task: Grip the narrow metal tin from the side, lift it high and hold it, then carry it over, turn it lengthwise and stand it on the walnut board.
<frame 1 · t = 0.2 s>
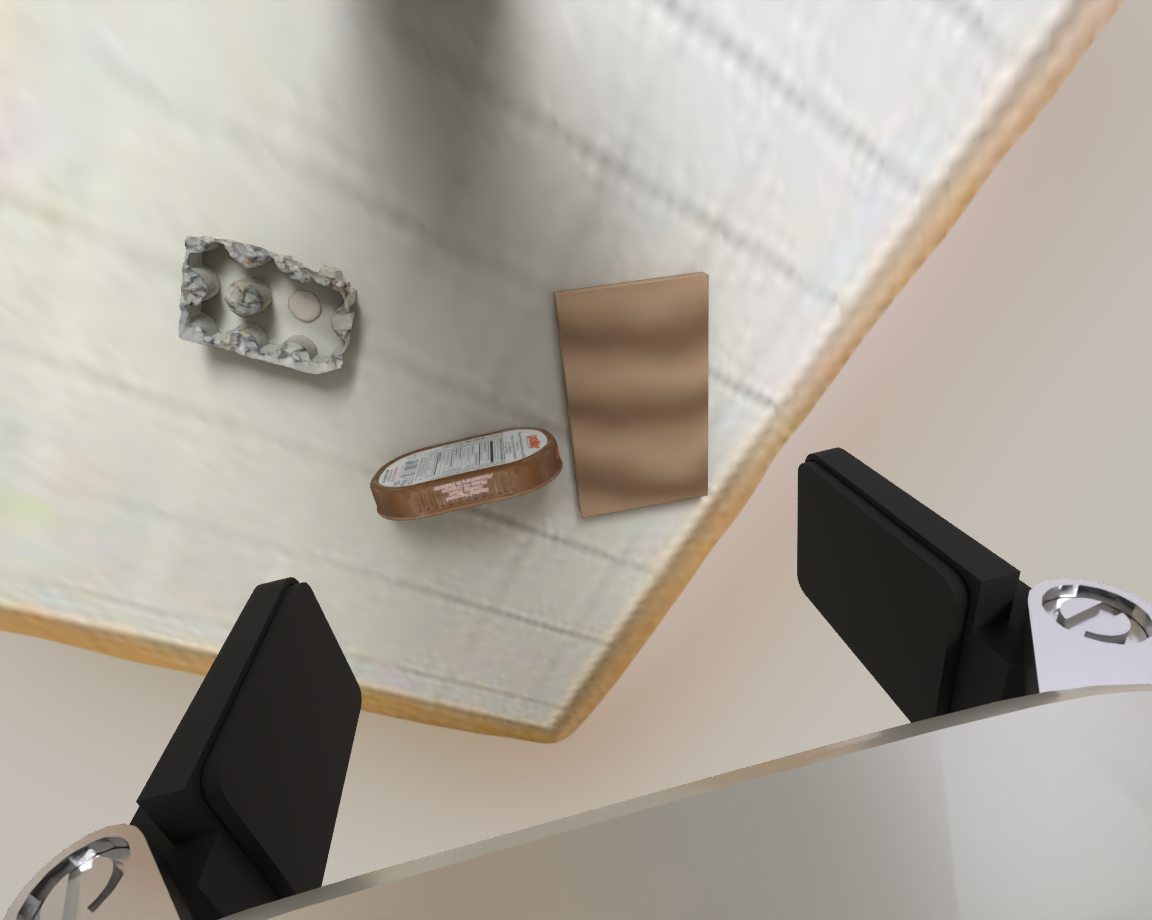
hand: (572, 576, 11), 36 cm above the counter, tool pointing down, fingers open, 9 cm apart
egg carton: (281, 301, 41), on the counter
walnut board: (635, 400, 49), on the counter
tin: (467, 447, 48), on the counter
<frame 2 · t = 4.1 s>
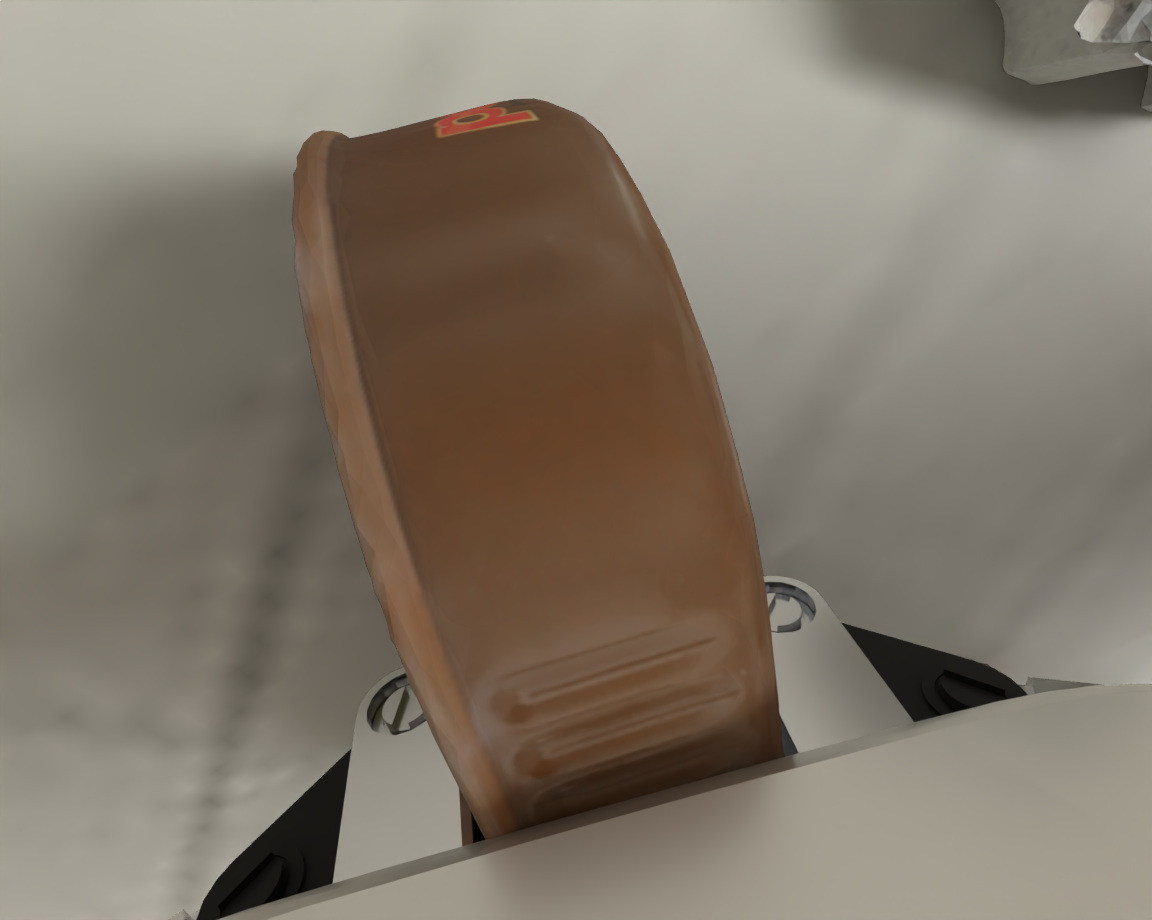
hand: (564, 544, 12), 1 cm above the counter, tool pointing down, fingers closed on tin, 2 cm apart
tin: (566, 506, 13), on the counter, touching gripper
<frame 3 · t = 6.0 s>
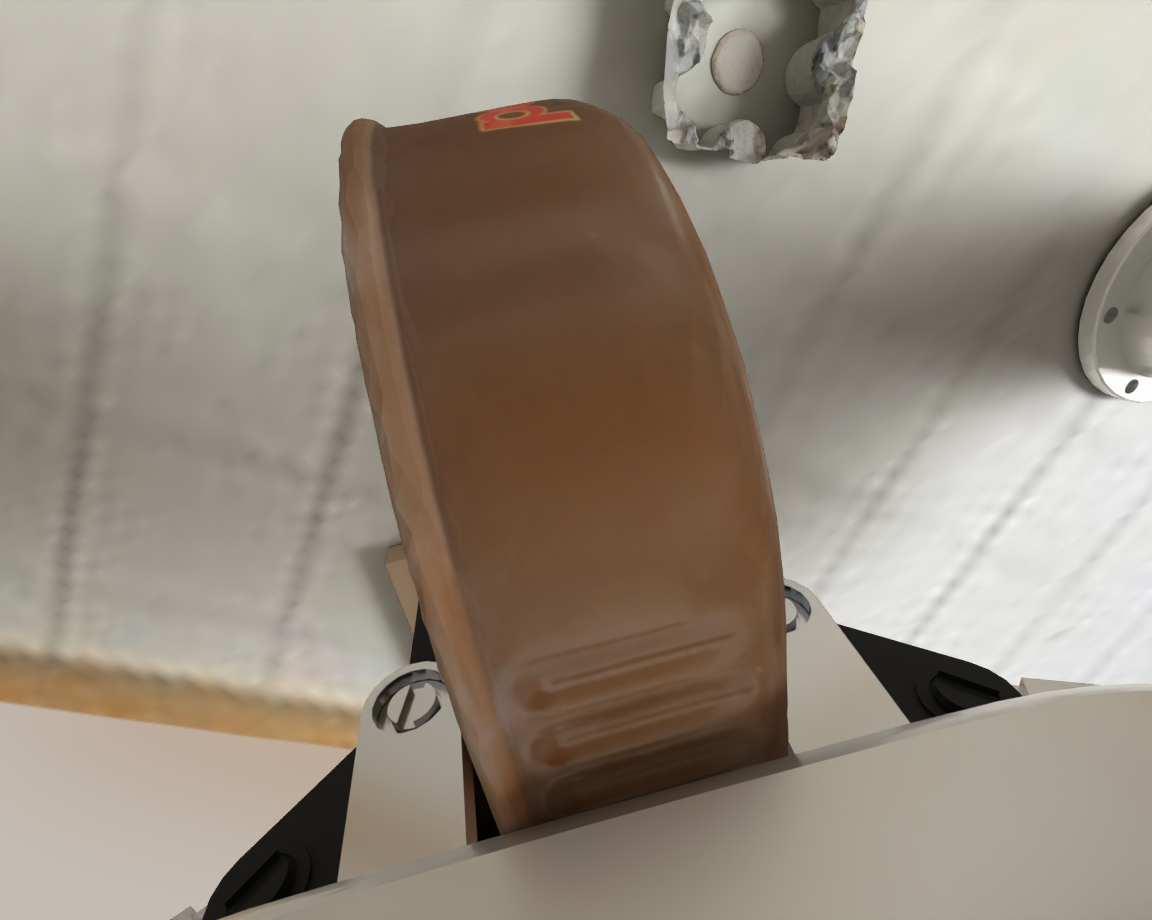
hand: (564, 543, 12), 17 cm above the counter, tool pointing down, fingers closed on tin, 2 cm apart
egg carton: (737, 14, 23), on the counter
walnut board: (589, 587, 33), on the counter
tin: (566, 505, 13), point 15 cm above the counter, touching gripper
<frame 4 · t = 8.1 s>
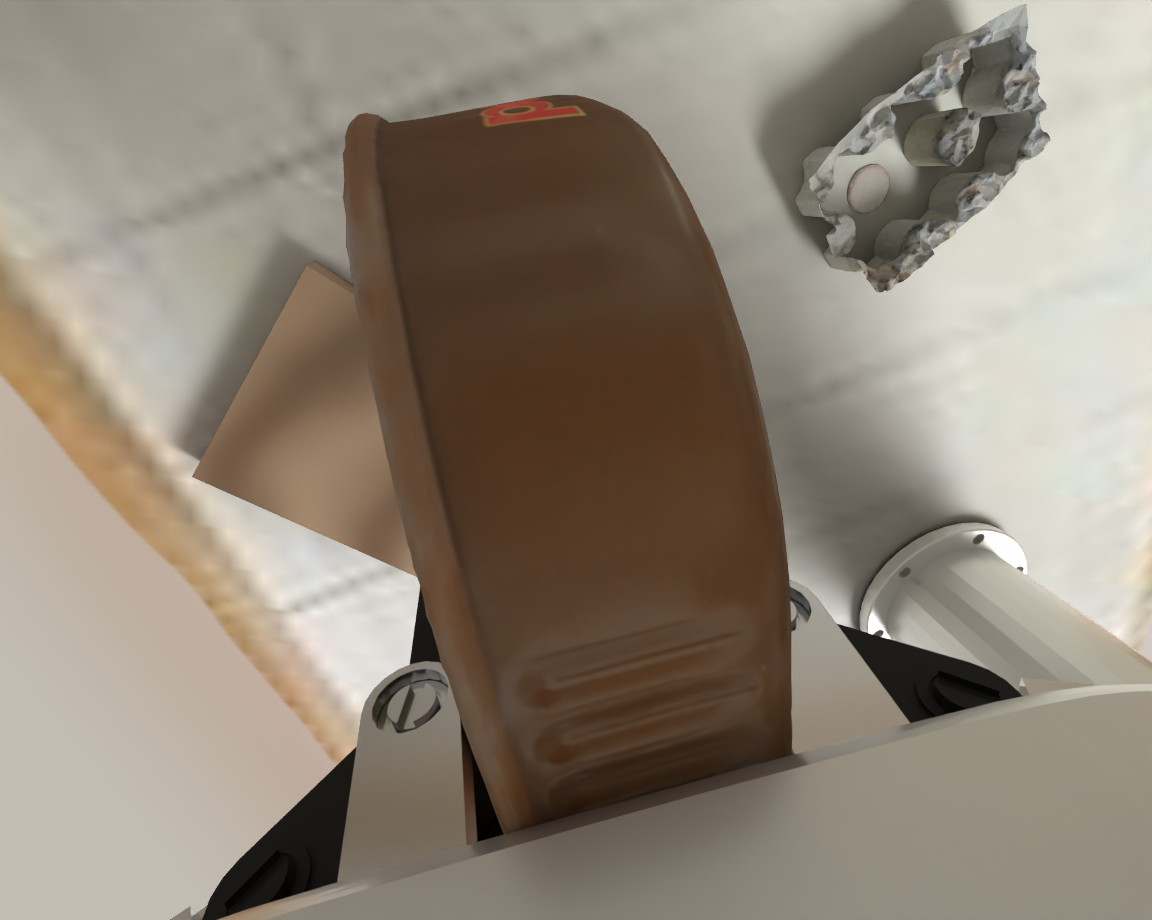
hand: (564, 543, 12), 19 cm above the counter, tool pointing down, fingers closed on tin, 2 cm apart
egg carton: (888, 162, 28), on the counter
walnut board: (440, 466, 31), on the counter
tin: (567, 505, 13), point 17 cm above the counter, touching gripper
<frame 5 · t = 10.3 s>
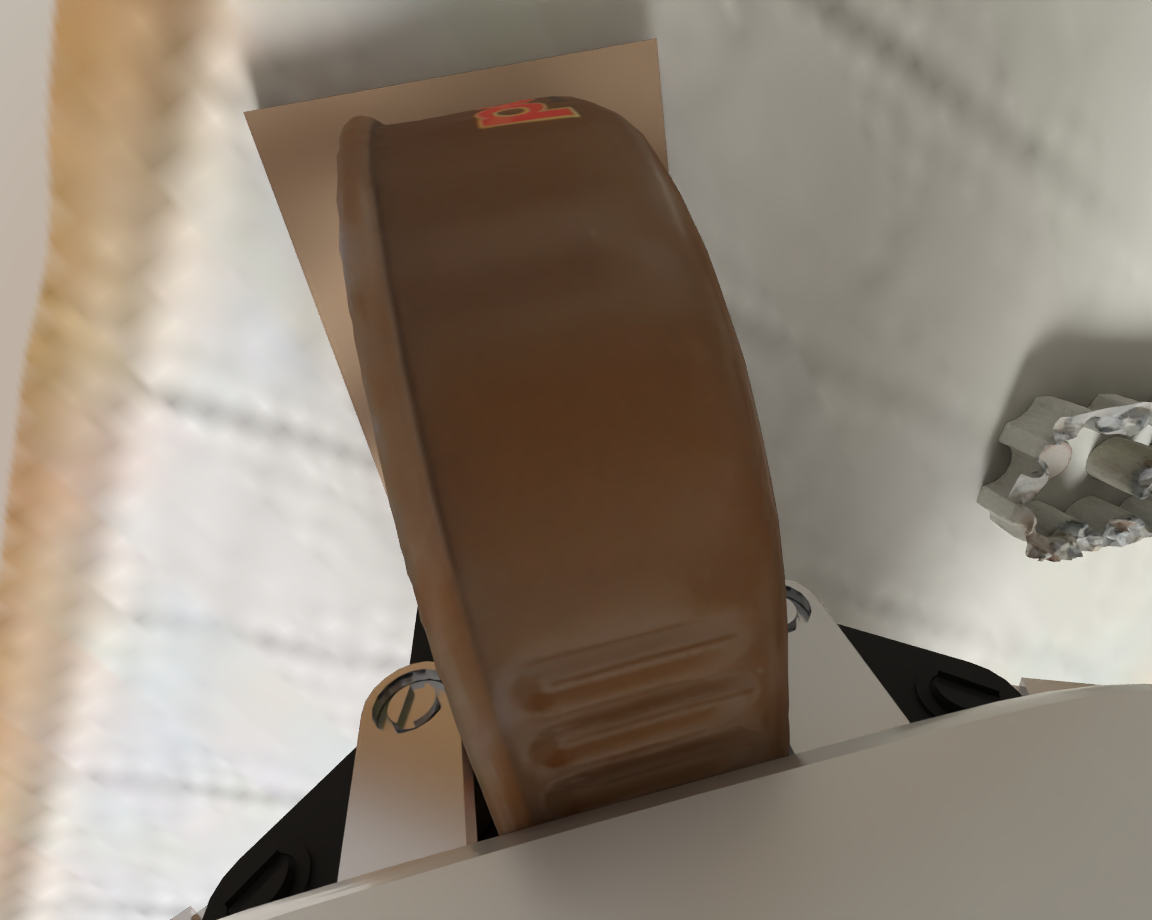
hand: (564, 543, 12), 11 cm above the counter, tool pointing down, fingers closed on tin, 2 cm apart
egg carton: (1071, 452, 28), on the counter
walnut board: (524, 386, 22), on the counter
tin: (566, 505, 13), point 10 cm above the counter, touching gripper
when the fingers open (4 cm above the counter, at t = 12.2 s): tin drops 1 cm, resting on walnut board.
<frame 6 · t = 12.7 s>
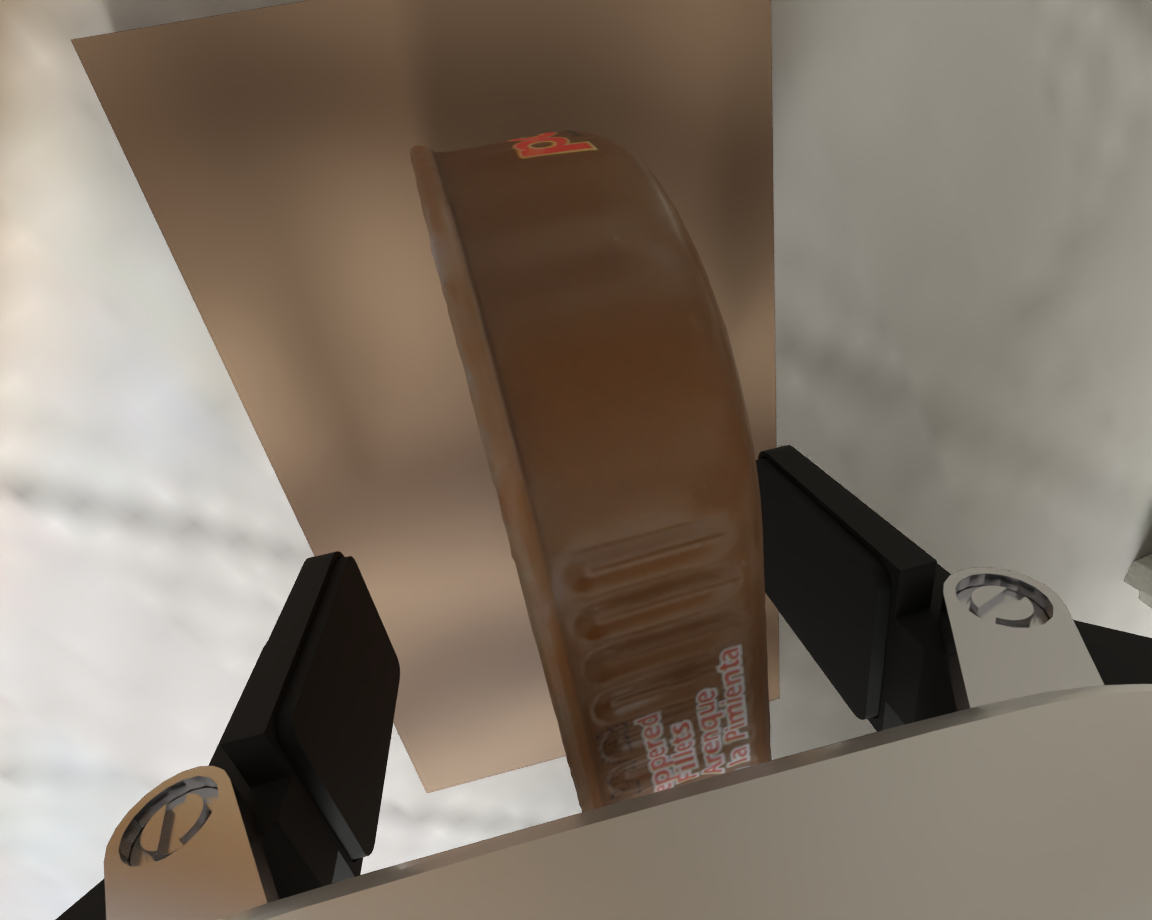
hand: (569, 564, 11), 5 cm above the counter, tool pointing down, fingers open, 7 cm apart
walnut board: (542, 458, 15), on the counter
tin: (564, 484, 14), point 1 cm above the counter, touching walnut board
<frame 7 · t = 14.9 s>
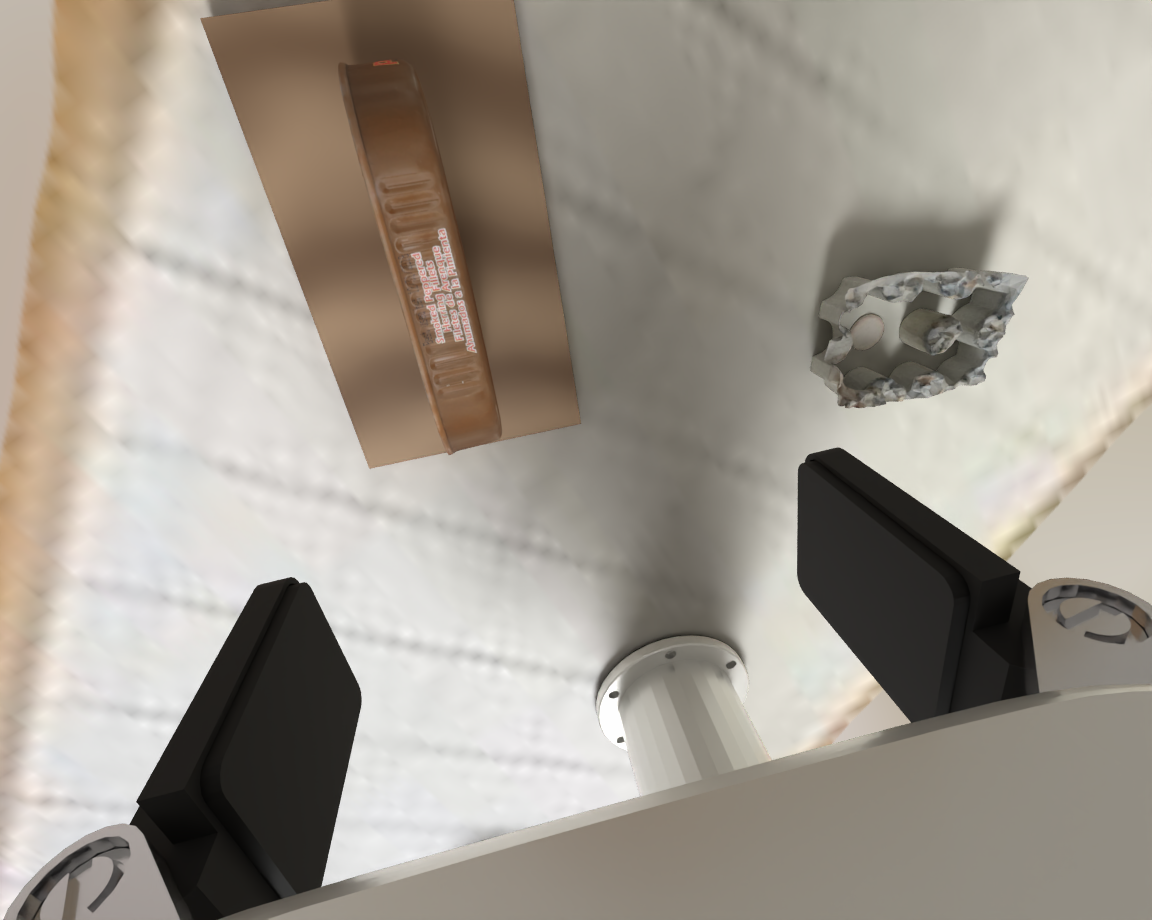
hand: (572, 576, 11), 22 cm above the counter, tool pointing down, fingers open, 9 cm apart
egg carton: (887, 325, 35), on the counter
walnut board: (429, 256, 28), on the counter
tin: (437, 263, 27), point 1 cm above the counter, touching walnut board
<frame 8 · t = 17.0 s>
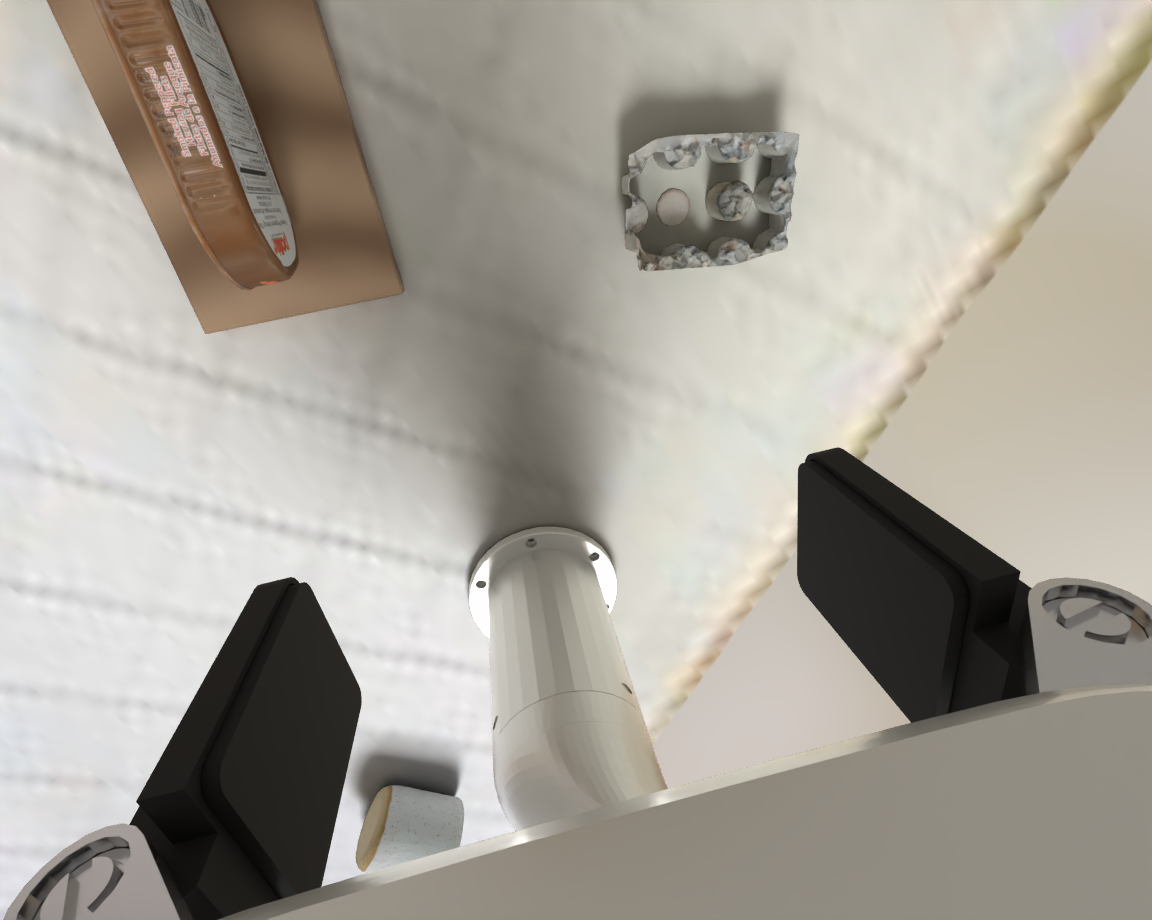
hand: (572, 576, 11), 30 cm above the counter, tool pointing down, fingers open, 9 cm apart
egg carton: (695, 201, 37), on the counter
walnut board: (242, 131, 31), on the counter
ceramic mug: (411, 803, 58), on the counter
tin: (243, 132, 30), point 1 cm above the counter, touching walnut board
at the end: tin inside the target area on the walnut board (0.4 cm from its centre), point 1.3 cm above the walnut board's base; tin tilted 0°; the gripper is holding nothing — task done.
